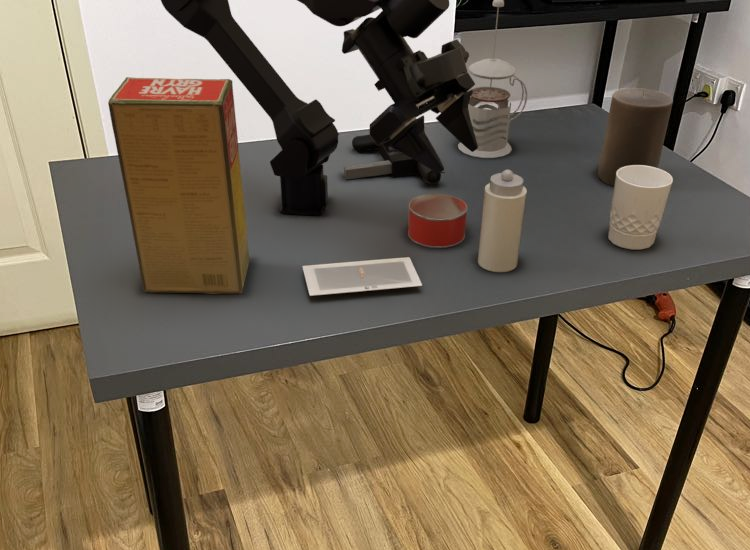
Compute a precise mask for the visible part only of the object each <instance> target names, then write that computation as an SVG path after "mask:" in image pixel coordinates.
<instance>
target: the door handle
mask: <svg viewBox="0 0 750 550" xmlns="http://www.w3.org/2000/svg"><path fill="white" fill-rule="evenodd" d="M390 140H391V139H390ZM390 140H388V141H387V142H385V143H383V144H381V145H379V146H377V145H376V143H375V142H374V140H373V139H372V137H371V136H370V134H364V135H356V136H355V137H353V138H352V140H351V146H352V149H354V151H356V152H365V151H366V152H367V151H373V150H374V151H375V150H377V151H378V152H379V154H380V156H381V158H382V160H381V161H373V162H366V163H359V164H352V165H351V164H350V165H344V166H343V175H344V178H345V179H346V180H353V179H361V178H369V177H376V176H382V175H391V177H392V178H400V177H406V176H407V177H408V176H414V175H415V176H416V175H420V176H421V177H422V178H423V180H424V181H425V182H426V183H427V184H429V185H436V184H438V183H440V181H441V180H442V174H445V173H446V172H445V171H442V172H441V173H439V174H438V173H436V172H434V171H433V170H431V169H429V168H428V167H426V166H424V165H422V164H421V163H419V162H417V161H416V160H414V159H412V158H410V157H409V156H407V155H405V154H403V153H401V152H400V153H394V154H390V153H392V152H393V151H396V150H395V149H393V148H386V147H385V145H386V144H387V143H388V142H389V141H390Z"/></svg>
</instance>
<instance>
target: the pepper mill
mask: <svg viewBox="0 0 750 550" xmlns="http://www.w3.org/2000/svg"><path fill="white" fill-rule="evenodd" d="M527 193H528V190H527V188H526V187H525V186H524V179H523V177H522V176H520V175H518V174H515V173H514V172H513V171H512V170H511V169H504V170H503V171H502V172H499V173H494V174H492V175H491V176H490V179H489V182H488V183H487V184H486V185H485V186H484V193H483V202H482V211H481V213H482V214H481V224H480V233H479V244H478V255H477V264H478V265H479V266H480V267H481V268H482V269H484V270H486V271H488V272H493V273H507V272H512V271H513V270H515V269H516V268H517V266H518V263H519V255H520V254H519V253H520V247H521V239H522V233H523V232H522V231H523V225H524V224H523V223H524V216H525V210H526V200H527Z"/></svg>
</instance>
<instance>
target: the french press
mask: <svg viewBox="0 0 750 550" xmlns="http://www.w3.org/2000/svg"><path fill="white" fill-rule="evenodd" d="M492 6H493V7H494V8H495V7H496V8H497V11H496V21H495V31H494V41H493V53H492V58H484V59H480V60H478V61H475V62H473V63H472V64H470V65H469V66H468V71H469V74H470V75H472V76H474V77H476V78H480V79H484V80H490V83H489V84H490V85H489V86H485V85H484V86H476V87H474V88H472V89H473V94H472V95H471V96H470V101H469V105H468V110H469V115H470V119H471V123H472V126H473V130H474V134H475V137H476V141H477V144H478V149H476V150H475V151H474V152H471V151H470V150H469V149H468V148H466V147H465V146H464V145H463V144H462V143H461V142H460V141H459V143H458V144H457V147H458V150H460V151H461V152H462V153H463V154H466V155H468V156H471V157H476V158H481V159H495V158H500V157H504V156H507V155H509V154H510V153H511V152H512V150H513V149H512V146H511V145H510V143H509V141H508V140H509V132H510V123H511V122H512V121H513V120H515V119H516V118H518V117H519V116H520V115H521V114H522V113H523V112H524V109H525V108H526V105H527V101H528V89H527V87H526V84H525V83H524V82H523V81H522V80H521V79H520V78H519V77H517V76H516V75H515V74H516V72H517V70H516V68H515V67H514V66H513V65H511V64H510V63H509V62H507V61H505V60H502V59H499V58H495V52H496V51H495V50H496V39H497V33H498V32H497V30H498V20H499V10H500V8H502V7H504V6H505V0H493V1H492ZM512 78H513V80H512ZM506 79H507V80H508V79H509V82H508V83H509V84H510V86H512V87H513V86H514V85H515V80H517V81H518V82H519V83H520V85H521V90H522V92H521V100H520V102H519V105H518V107H517V108H516V109H515V110H514V111H513V112H511V109H512V103H511V102H510V101H509V98H510V97H511V93H510V92H509V90H507V89H504V88H500V87H497V86H496V87H495V86H492V83H493V80H506ZM524 93H525V94H524ZM524 96H525V97H524ZM523 101H524V103H523ZM482 102H483V103H485V104H481V105H478V104H480V103H482ZM487 103H494V104H495V105H497V106H494V105H492V104H487ZM522 103H523V105H522ZM477 105H478V106H477ZM476 106H477V107H476ZM521 106H522V108H521V111H520V112H519V113H518V114H516V113H517V112H518V111H519V109H520V107H521ZM515 114H516V115H515ZM514 115H515V116H514ZM512 116H513V117H512ZM511 117H512V118H511ZM493 119H495V120H493ZM481 123H486V124H481ZM492 126H494V127H492Z"/></svg>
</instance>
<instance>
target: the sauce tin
mask: <svg viewBox="0 0 750 550" xmlns="http://www.w3.org/2000/svg"><path fill="white" fill-rule="evenodd" d="M467 214H468V205H467V204H466V202H465V201H464V200H462V199H461V198H458V197H456V196H453V195H450V194H443V193H430V194H429V193H428V194H423V195H422V194H421V195H418V196H416V197H414V198H412V199H411V200H410V201H409V204H408V227H407V228H408V230H407V236H408V239H409V240H410V241H411V242H413V243H414V244H416V245H418V246H420V247H424V248H427V249H449V248H453V247H456V246H458V245H460V244H462V243H463V242H464V240H465V238H466V224H467Z"/></svg>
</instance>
